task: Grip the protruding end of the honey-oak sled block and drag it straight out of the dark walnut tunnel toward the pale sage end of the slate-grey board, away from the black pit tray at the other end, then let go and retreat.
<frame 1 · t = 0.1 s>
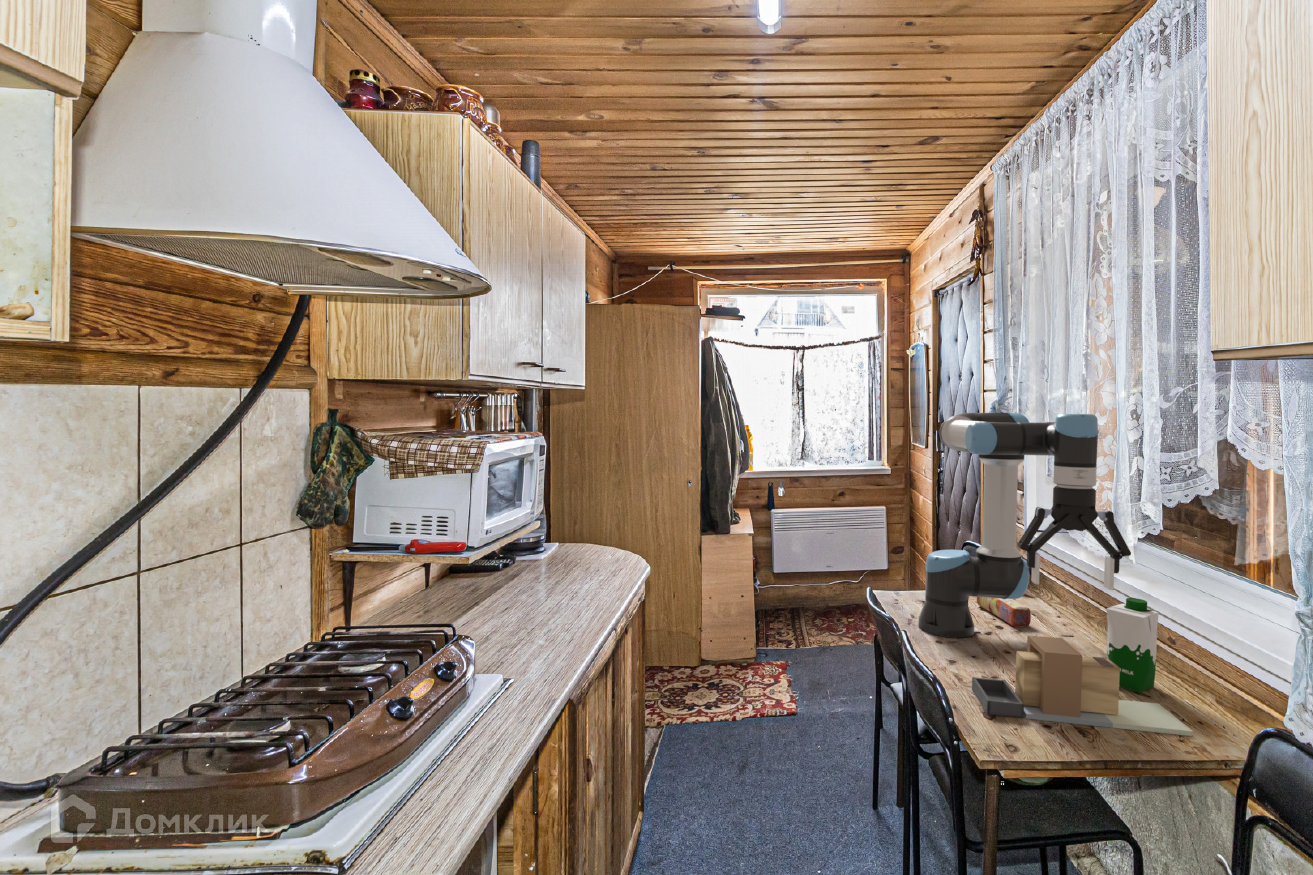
hand: (1071, 585, 130), 28 cm above the table, fingers open, 13 cm apart
snack package: (1002, 617, 195), on the table
sled block: (1065, 681, 132), point 6 cm above the table, slide at 0.0 cm
milk carton: (1129, 685, 146), on the table
pit tray: (996, 703, 136), on the table
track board: (1072, 710, 132), on the table
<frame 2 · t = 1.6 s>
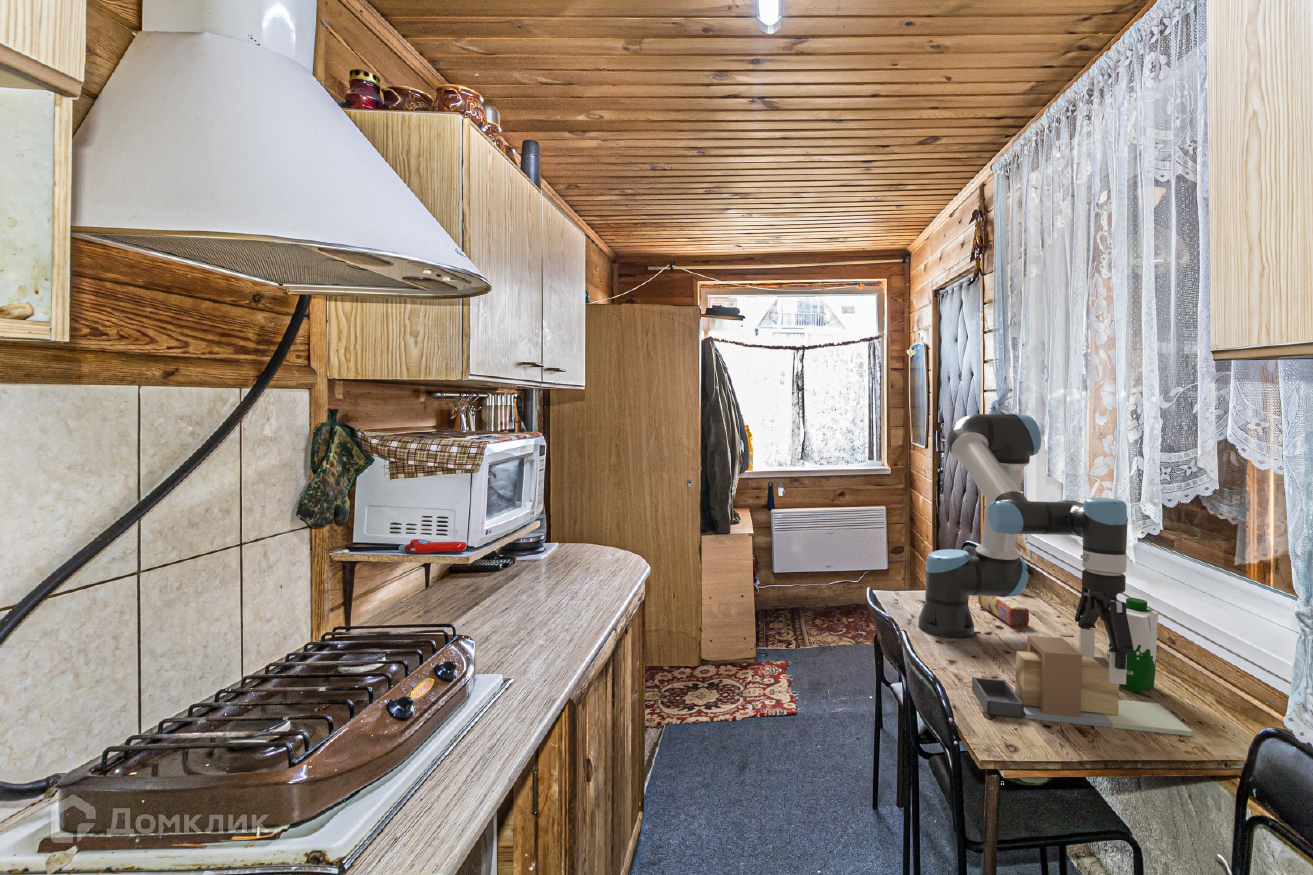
hand: (1101, 669, 131), 10 cm above the table, fingers open, 13 cm apart
nothing on the table moved.
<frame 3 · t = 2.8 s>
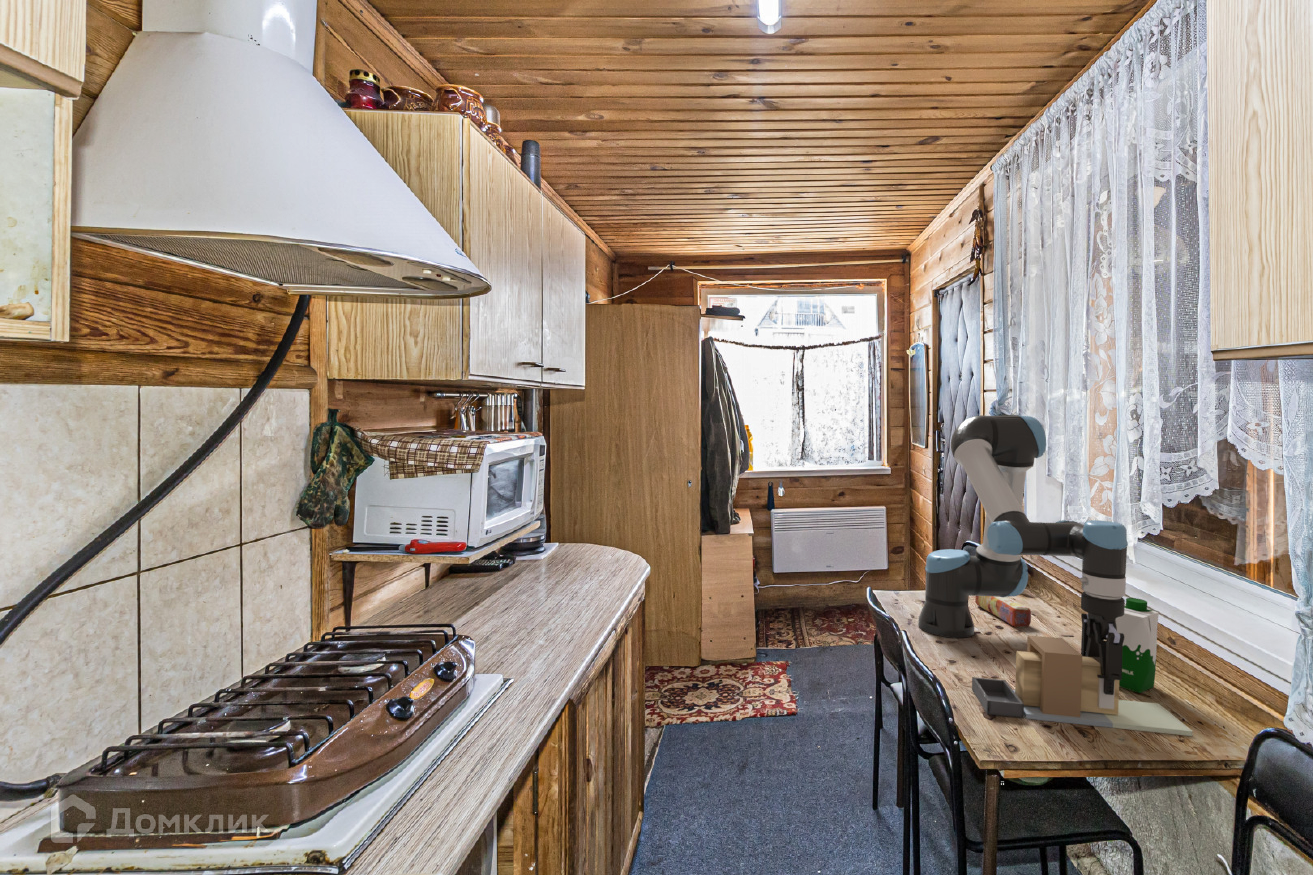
hand: (1099, 701, 131), 3 cm above the table, fingers closed on sled block, 5 cm apart
sled block: (1065, 681, 132), point 6 cm above the table, slide at 0.0 cm, touching gripper
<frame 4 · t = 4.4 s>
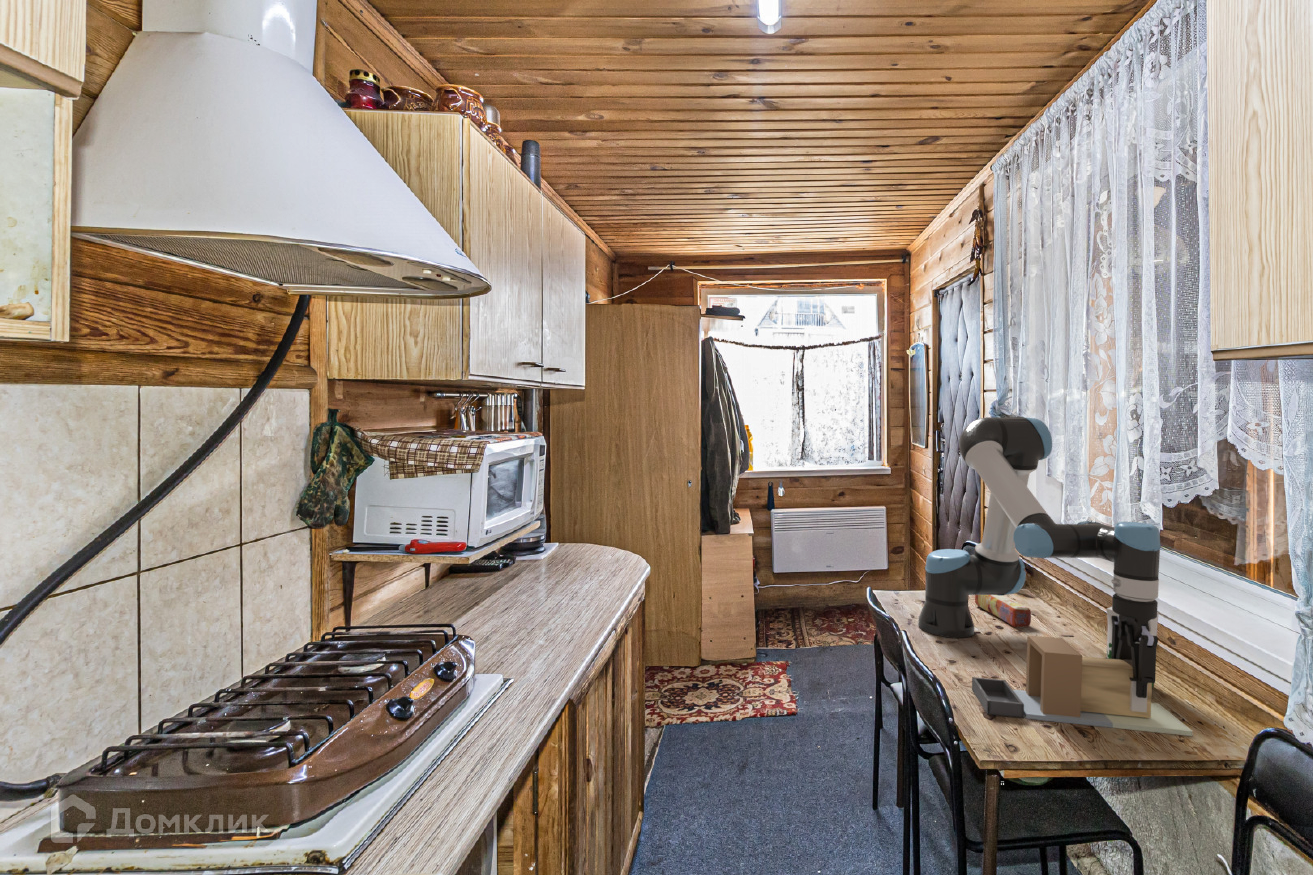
hand: (1130, 704, 130), 3 cm above the table, fingers closed on sled block, 5 cm apart
sled block: (1096, 684, 131), point 6 cm above the table, slide at 5.9 cm, touching gripper
everything else where it was.
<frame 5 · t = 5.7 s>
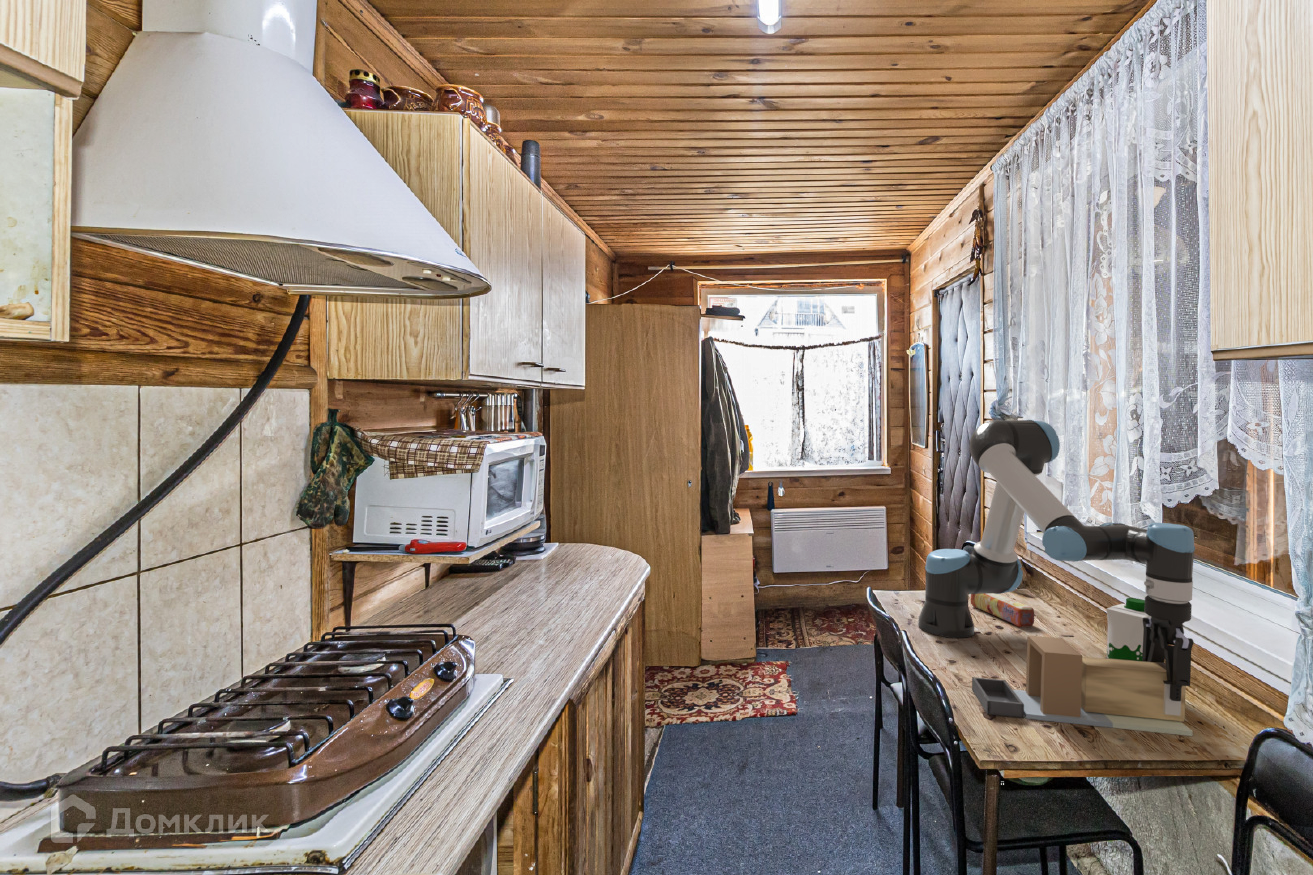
hand: (1163, 707, 128), 3 cm above the table, fingers closed on sled block, 5 cm apart
sled block: (1128, 687, 130), point 6 cm above the table, slide at 11.9 cm, touching gripper
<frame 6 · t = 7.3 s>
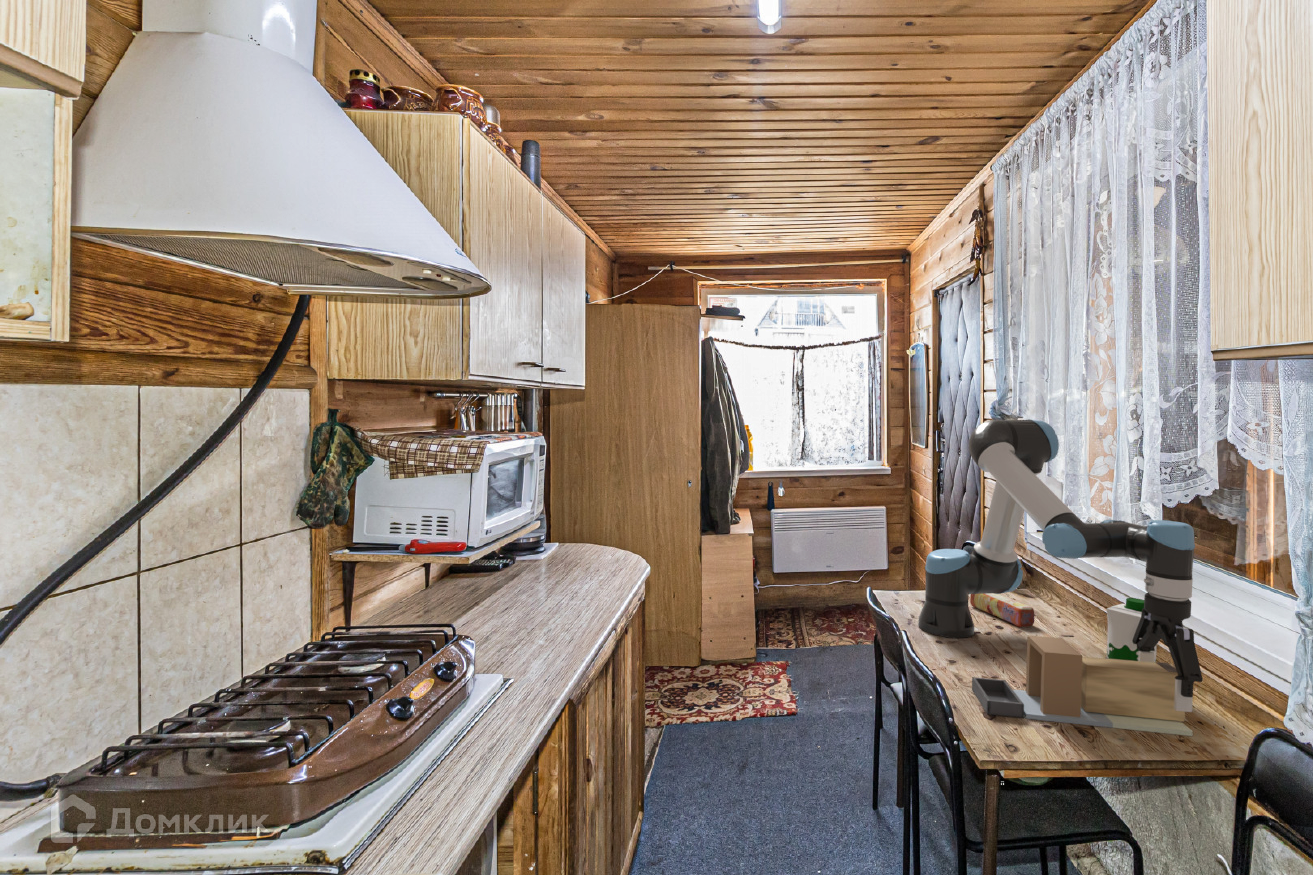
hand: (1163, 695, 129), 5 cm above the table, fingers open, 13 cm apart
sled block: (1128, 687, 130), point 6 cm above the table, slide at 11.9 cm
everything else where it was.
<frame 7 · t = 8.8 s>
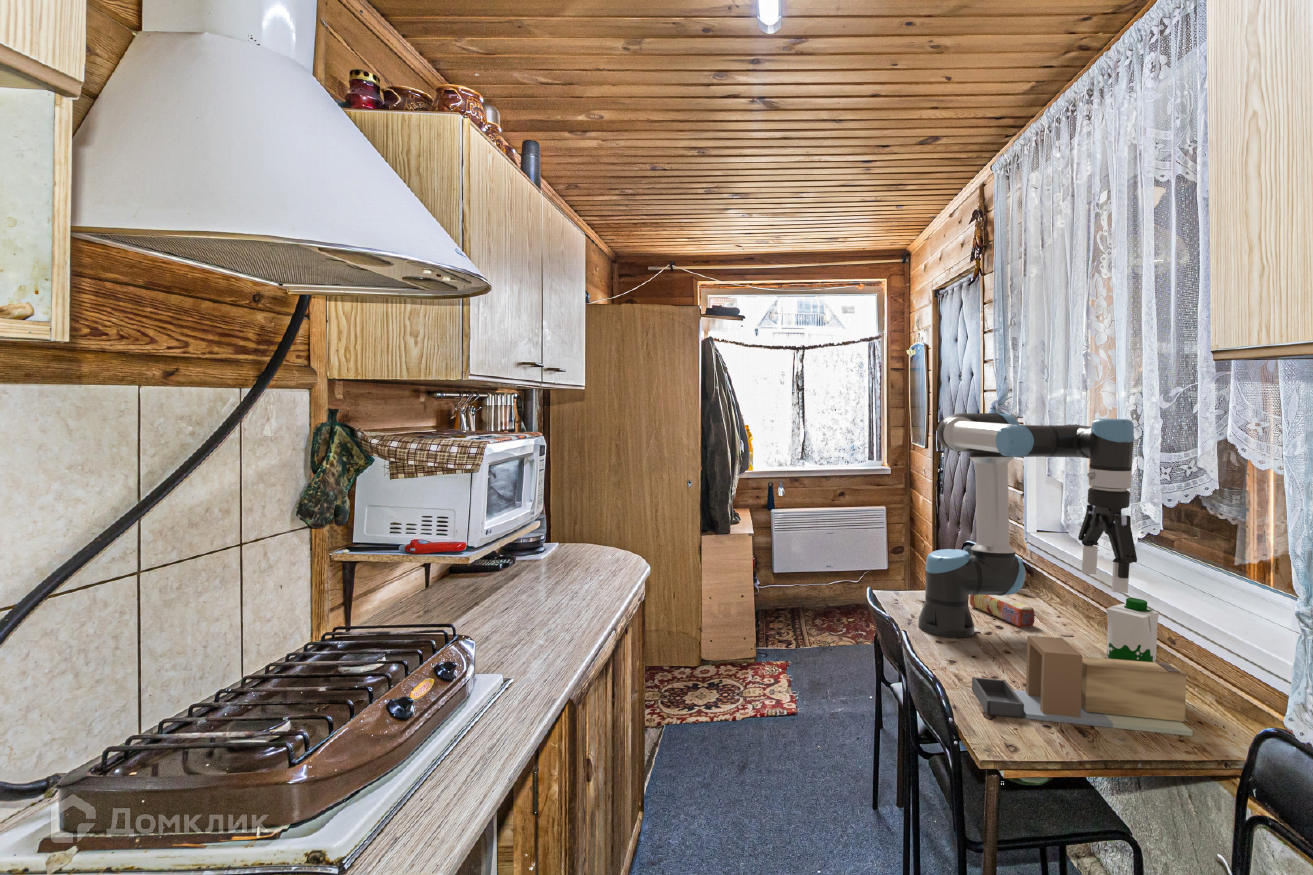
hand: (1103, 582, 137), 27 cm above the table, fingers open, 13 cm apart
nothing on the table moved.
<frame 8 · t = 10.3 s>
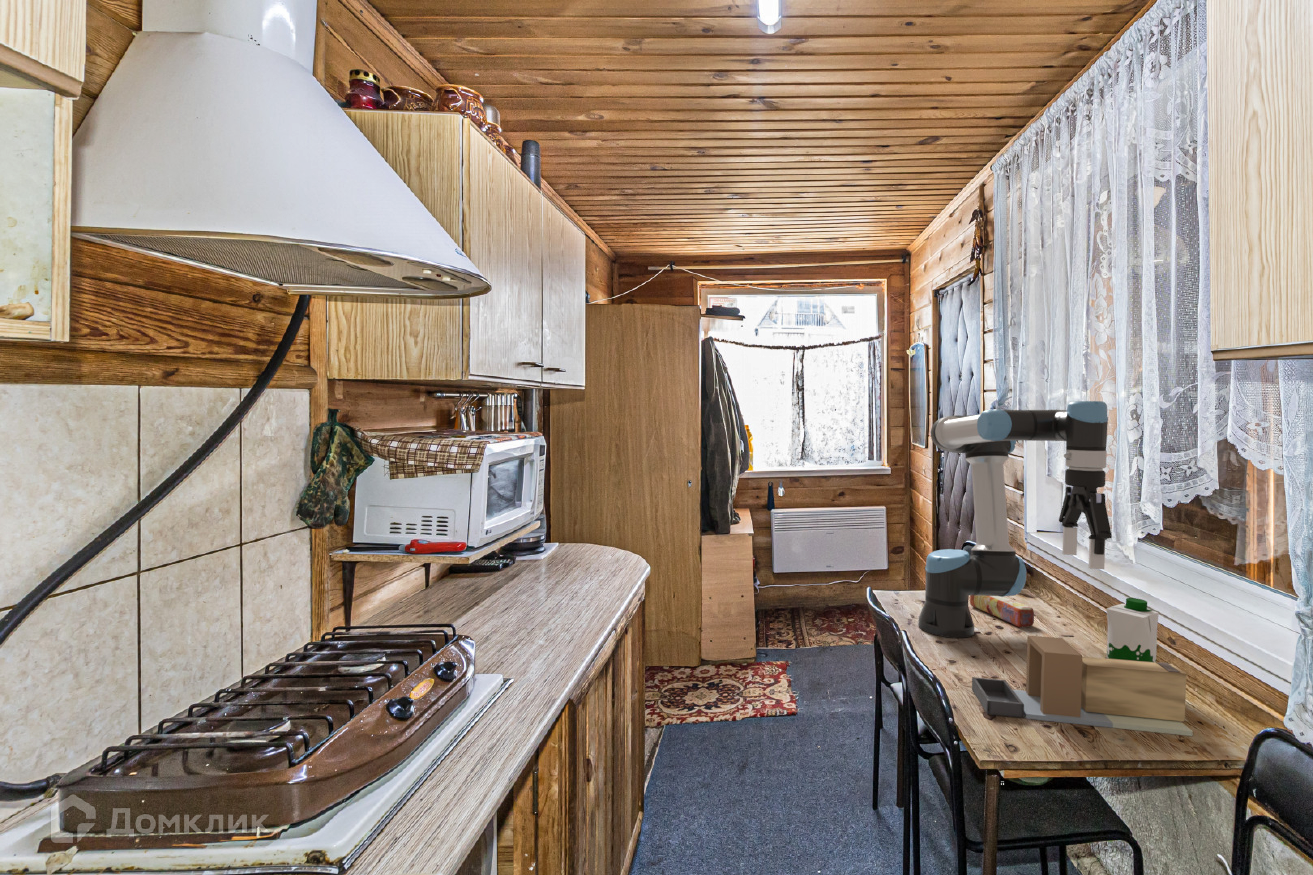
hand: (1082, 561, 140), 31 cm above the table, fingers open, 13 cm apart
nothing on the table moved.
at the end: sled block slide at 11.9 cm; the gripper is holding nothing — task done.
